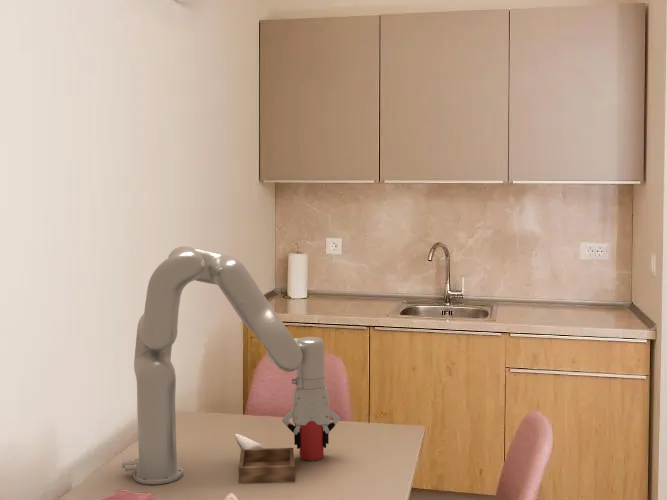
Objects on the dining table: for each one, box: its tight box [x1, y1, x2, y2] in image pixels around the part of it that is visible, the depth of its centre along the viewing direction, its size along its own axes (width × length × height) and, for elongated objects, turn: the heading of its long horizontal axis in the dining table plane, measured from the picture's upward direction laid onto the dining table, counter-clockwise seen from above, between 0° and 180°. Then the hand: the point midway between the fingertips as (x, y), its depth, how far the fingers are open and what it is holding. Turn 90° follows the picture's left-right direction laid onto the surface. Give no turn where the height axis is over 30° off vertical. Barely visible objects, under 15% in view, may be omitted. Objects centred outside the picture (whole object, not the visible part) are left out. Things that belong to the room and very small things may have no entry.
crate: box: [238, 447, 295, 484], centre depth 207 cm, size 14×14×4 cm
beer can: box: [298, 418, 325, 462], centre depth 217 cm, size 7×7×12 cm
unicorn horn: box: [234, 433, 266, 449], centre depth 227 cm, size 5×24×5 cm, turn 18°
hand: (311, 446), depth 217 cm, fingers closed on beer can, 6 cm apart
